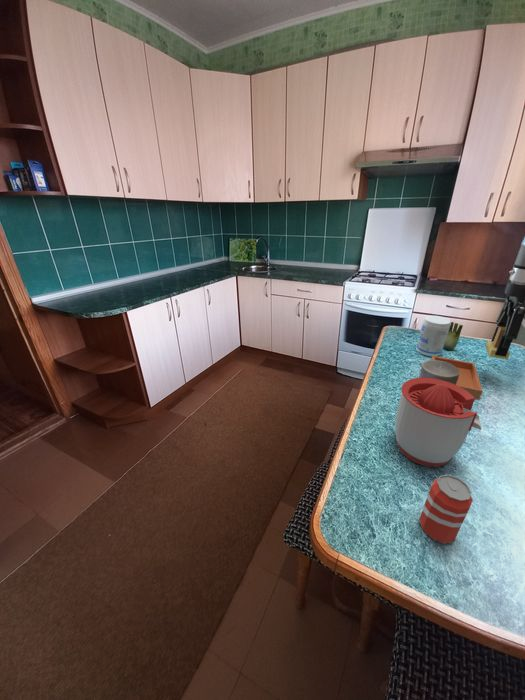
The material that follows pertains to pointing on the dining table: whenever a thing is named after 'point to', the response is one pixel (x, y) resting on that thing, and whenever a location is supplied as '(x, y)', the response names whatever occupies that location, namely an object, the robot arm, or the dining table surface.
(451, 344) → the fennel bulb
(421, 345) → the supplement tub
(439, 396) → the citrus juicer
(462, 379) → the orange brown tray
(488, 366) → the dining table surface
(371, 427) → the dining table surface
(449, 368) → the pillar candle
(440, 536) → the beverage can
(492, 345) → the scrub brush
